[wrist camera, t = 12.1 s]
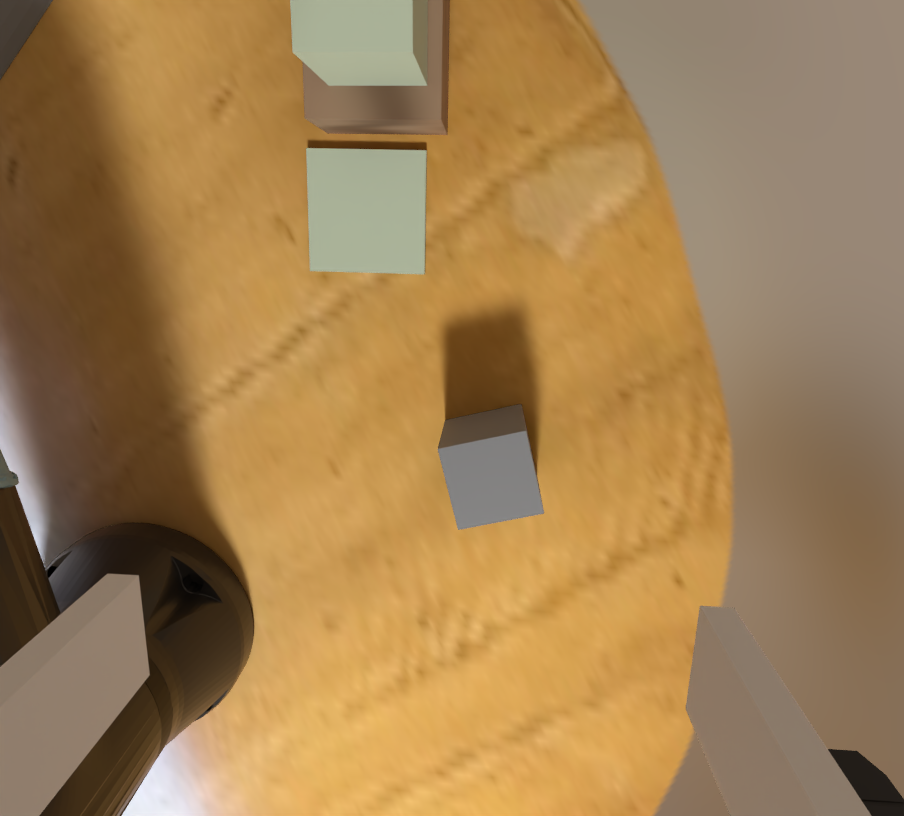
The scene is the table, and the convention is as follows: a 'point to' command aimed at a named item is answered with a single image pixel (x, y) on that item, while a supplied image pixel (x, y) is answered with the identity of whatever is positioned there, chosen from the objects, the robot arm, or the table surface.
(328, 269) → the tile
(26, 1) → the slim gray ramp strip
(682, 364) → the table surface
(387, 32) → the sage block
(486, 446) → the gray block
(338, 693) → the table surface
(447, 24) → the walnut base
